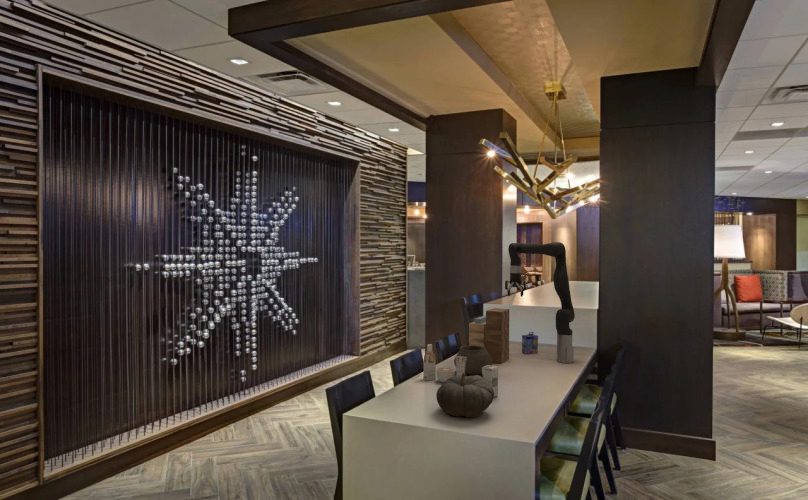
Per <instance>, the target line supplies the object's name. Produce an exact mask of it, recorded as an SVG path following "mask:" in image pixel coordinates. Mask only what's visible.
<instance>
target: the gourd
mask: <svg viewBox="0 0 808 500" xmlns="http://www.w3.org/2000/svg"><path fill="white" fill-rule="evenodd" d="M494 398H495V397H494V390H493V388H492V386H491V384H490V383H489V382H487V381H486V380H485V379H483V378H482V375H480V374H479V375H469V376H467V375H466V374H465V375H464V373H462V377H461V376H456V375H454V376H453V377H450V378H449V379H447V380H446V381H445V382H444V383H443V382H442V384H441V385H440V387H438V389H437V391H436V401H437V404H438V406H439V408H440V409H441V410H442V411H443V412H444V413H445V414H448V415H449V416H452V417H453V416H454V417H465V418H475V417H477V416H479V415H481V414H482V413H483V412H485V411H486V410H487V409H488V408H489V407H490V405H491V404H492V402H493V400H494Z"/></svg>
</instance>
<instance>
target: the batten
mask: <svg viewBox="0 0 808 500" xmlns="http://www.w3.org/2000/svg"><path fill="white" fill-rule="evenodd" d="M474 322H475V323H476V324H481V323H484V322H486V314H485V315H482V316H479V317H475V318H474Z"/></svg>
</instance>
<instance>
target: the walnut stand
mask: <svg viewBox="0 0 808 500" xmlns="http://www.w3.org/2000/svg"><path fill="white" fill-rule="evenodd" d="M485 315H486V350H487V352H488V353H489V355H490V356H491V359H492V364H499V365H502V364H504V363H505V362H507V361H508V360H510V308H497V307H494V308H490V309H488V310H486V311H485Z"/></svg>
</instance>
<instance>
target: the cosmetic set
mask: <svg viewBox="0 0 808 500" xmlns="http://www.w3.org/2000/svg"><path fill="white" fill-rule="evenodd" d="M436 359H437V358H436V355H435V353H434V351H433V344H432V343H430V344H429V343H428V344H427V345H426V352H425V354H423V373H422V374H423V380H424V381H435V380H436V378H437V380H438V381H439V382H440V383H442V384H443V383H444V382H445V381H446V380H447V379H449V378H450V377H453V376H461V377H462V373H464V375H465V376H466V374H465V367H466V359H467V357H463V356H456V355H454V359H456V366H455V368H456V370H455V369H454V368H452V367H438V368H437V369H436V364H437V363H436ZM455 371H456V375H455Z"/></svg>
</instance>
